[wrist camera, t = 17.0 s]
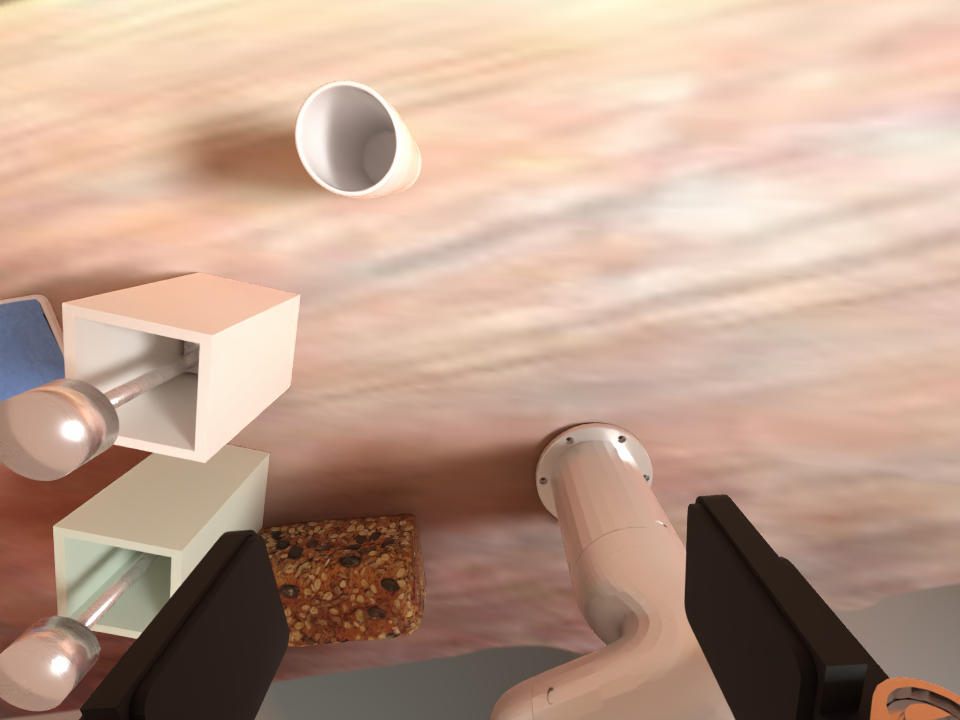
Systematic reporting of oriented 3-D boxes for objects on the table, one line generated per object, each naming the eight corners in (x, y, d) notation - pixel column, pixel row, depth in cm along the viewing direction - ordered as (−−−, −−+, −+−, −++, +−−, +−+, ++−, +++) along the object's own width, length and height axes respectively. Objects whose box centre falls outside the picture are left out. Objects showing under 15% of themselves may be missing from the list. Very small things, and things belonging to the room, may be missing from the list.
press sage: (269, 452, 53) (181, 551, 38) (262, 527, 56) (177, 646, 41) (178, 434, 53) (53, 526, 38) (176, 510, 56) (58, 624, 41)
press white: (300, 294, 48) (212, 335, 33) (290, 386, 51) (205, 463, 36) (199, 272, 47) (61, 302, 32) (195, 366, 50) (67, 434, 35)
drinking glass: (344, 177, 45) (275, 162, 30) (375, 106, 43) (318, 54, 28) (409, 214, 45) (373, 217, 31) (443, 146, 44) (420, 116, 29)
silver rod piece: (242, 477, 50) (83, 650, 31) (237, 536, 52) (87, 733, 33) (169, 462, 50) (-40, 627, 30) (167, 523, 52) (-28, 713, 32)
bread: (280, 591, 59) (241, 665, 50) (261, 517, 56) (215, 581, 47) (430, 582, 58) (419, 655, 49) (420, 507, 55) (405, 569, 46)
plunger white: (271, 310, 45) (102, 391, 25) (264, 385, 47) (104, 512, 27) (189, 292, 44) (-48, 360, 25) (186, 368, 47) (-33, 486, 27)
